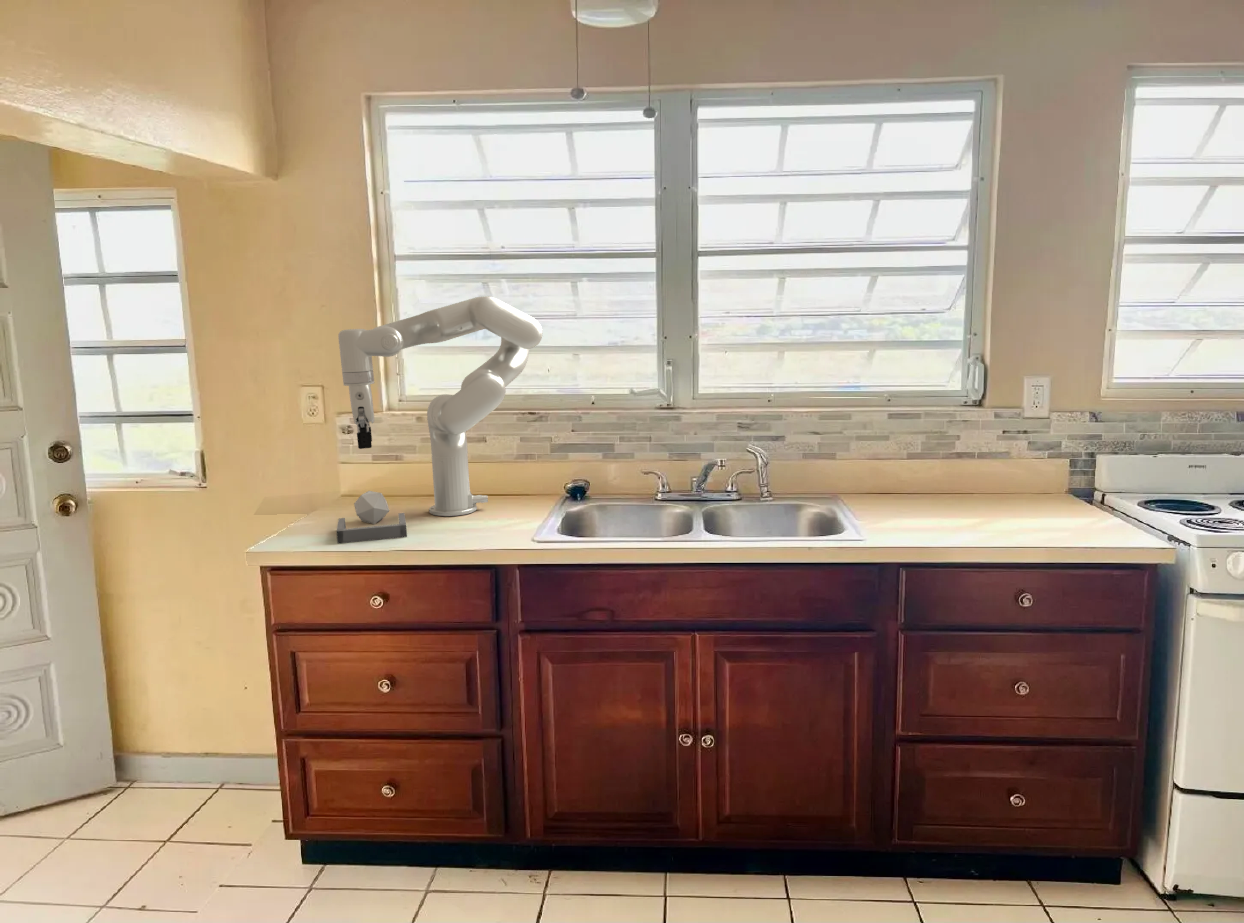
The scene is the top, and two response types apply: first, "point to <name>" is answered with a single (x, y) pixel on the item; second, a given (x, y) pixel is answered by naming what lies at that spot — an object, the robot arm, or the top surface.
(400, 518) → the bay
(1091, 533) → the top surface
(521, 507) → the top surface
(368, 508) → the die
